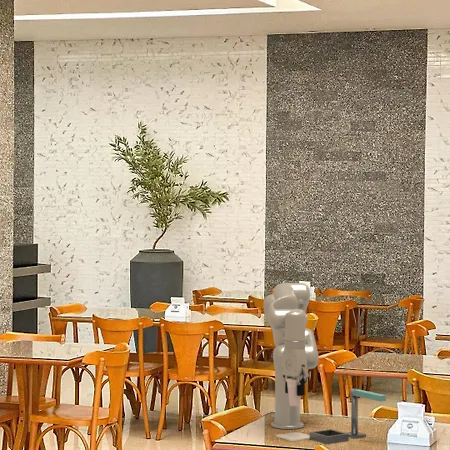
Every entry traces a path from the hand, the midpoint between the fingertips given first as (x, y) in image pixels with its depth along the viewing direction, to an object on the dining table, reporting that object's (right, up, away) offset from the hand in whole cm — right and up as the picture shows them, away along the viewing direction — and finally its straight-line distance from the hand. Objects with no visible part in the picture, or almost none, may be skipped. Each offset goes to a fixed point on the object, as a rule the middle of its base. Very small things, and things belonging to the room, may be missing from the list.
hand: (294, 393), depth 368 cm
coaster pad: (0, -16, 0) cm, 16 cm away
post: (+22, -16, +3) cm, 28 cm away
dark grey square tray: (+12, -16, -4) cm, 21 cm away
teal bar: (+26, -1, -4) cm, 26 cm away
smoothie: (0, -4, 0) cm, 4 cm away
